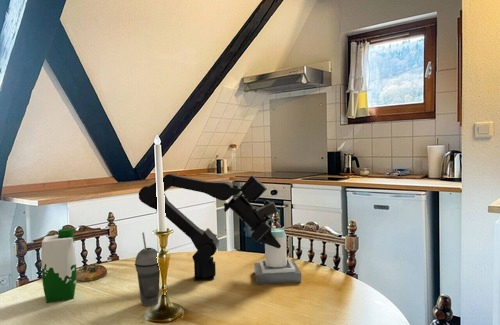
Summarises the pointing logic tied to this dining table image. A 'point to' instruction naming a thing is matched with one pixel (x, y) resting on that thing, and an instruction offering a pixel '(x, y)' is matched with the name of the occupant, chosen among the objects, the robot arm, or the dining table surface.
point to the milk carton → (59, 266)
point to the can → (276, 250)
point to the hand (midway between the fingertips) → (279, 244)
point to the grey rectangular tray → (277, 273)
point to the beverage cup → (148, 275)
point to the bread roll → (91, 272)
